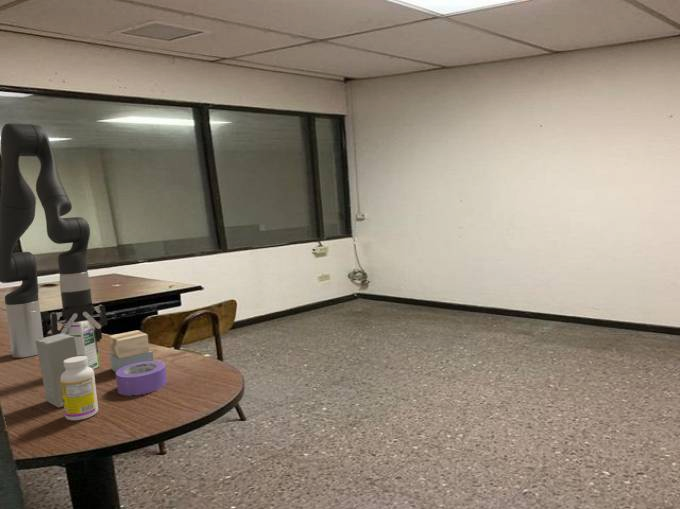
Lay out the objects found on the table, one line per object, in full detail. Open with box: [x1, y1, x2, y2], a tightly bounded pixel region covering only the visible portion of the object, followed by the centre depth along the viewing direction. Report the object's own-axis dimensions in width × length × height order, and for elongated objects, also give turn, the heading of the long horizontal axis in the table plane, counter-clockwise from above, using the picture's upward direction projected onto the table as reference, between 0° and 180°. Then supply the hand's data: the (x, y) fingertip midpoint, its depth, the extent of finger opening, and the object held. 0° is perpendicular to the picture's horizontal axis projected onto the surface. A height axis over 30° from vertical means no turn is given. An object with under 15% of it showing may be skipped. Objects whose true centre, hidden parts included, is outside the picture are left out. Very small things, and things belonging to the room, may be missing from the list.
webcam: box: [40, 311, 54, 338], centre depth 186 cm, size 8×8×10 cm
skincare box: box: [36, 333, 78, 408], centre depth 123 cm, size 8×7×16 cm
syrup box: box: [63, 320, 101, 370], centre depth 147 cm, size 6×6×14 cm
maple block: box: [109, 330, 150, 359], centre depth 145 cm, size 8×8×5 cm
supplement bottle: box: [60, 356, 99, 421], centre depth 113 cm, size 7×7×13 cm
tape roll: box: [115, 360, 168, 397], centre depth 130 cm, size 12×12×5 cm
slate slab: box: [109, 349, 154, 373], centre depth 146 cm, size 9×9×5 cm
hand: (82, 344), depth 147 cm, fingers closed on syrup box, 8 cm apart
